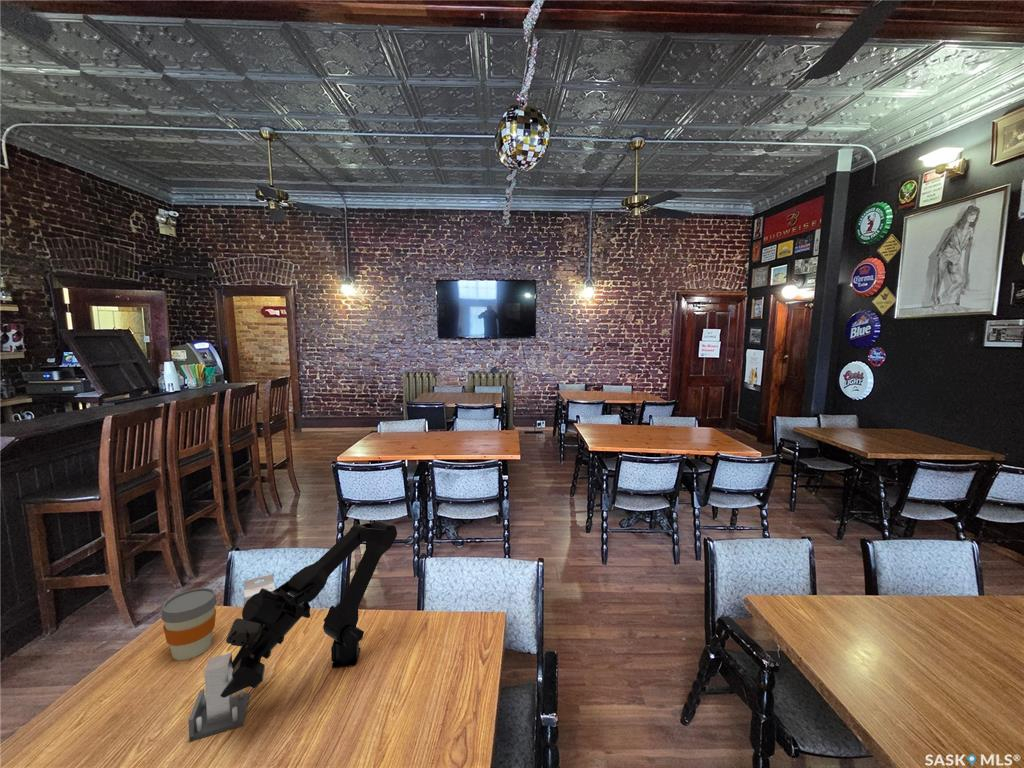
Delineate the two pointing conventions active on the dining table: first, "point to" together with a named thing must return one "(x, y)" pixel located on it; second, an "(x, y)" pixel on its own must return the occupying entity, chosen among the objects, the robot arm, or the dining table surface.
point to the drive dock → (202, 729)
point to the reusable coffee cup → (189, 622)
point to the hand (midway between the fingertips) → (226, 681)
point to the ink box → (258, 586)
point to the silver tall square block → (218, 688)
